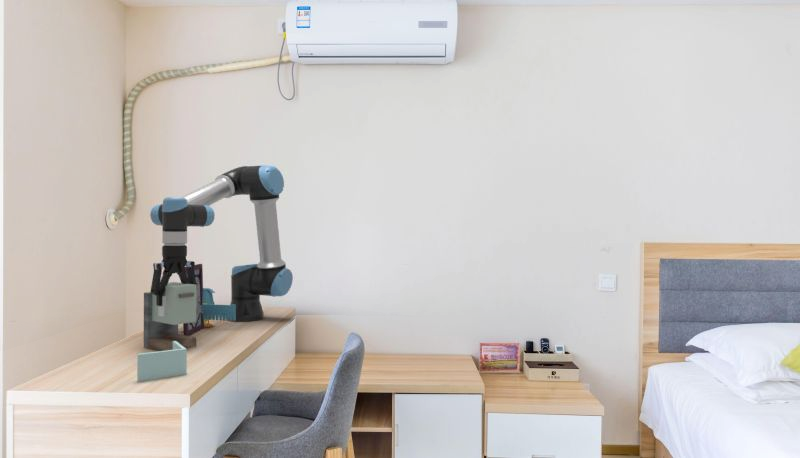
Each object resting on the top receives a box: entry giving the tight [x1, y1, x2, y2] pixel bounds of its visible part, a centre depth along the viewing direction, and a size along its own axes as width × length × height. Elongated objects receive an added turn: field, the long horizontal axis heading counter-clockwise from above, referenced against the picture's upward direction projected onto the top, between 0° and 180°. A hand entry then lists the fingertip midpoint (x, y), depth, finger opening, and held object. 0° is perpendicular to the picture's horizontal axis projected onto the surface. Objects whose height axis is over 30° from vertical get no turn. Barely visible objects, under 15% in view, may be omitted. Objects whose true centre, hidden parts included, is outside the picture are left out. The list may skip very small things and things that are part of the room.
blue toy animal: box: [200, 287, 236, 328], centre depth 216 cm, size 28×9×15 cm, turn 86°
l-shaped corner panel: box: [136, 341, 188, 383], centre depth 151 cm, size 12×12×8 cm
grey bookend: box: [143, 291, 197, 352], centre depth 182 cm, size 11×12×18 cm
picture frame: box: [182, 263, 205, 336], centre depth 206 cm, size 17×10×25 cm, turn 179°
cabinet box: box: [152, 281, 197, 325], centre depth 181 cm, size 8×13×12 cm, turn 56°
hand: (174, 314), depth 181 cm, fingers closed on cabinet box, 8 cm apart
